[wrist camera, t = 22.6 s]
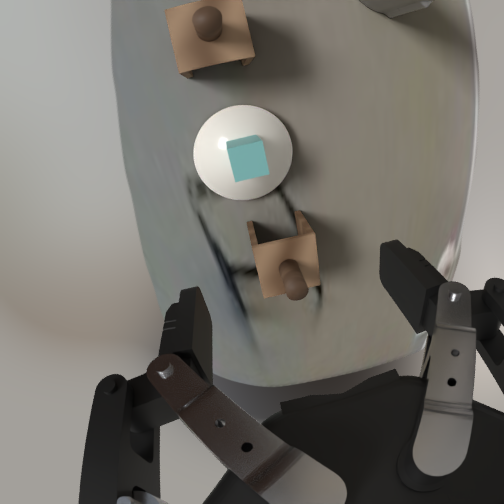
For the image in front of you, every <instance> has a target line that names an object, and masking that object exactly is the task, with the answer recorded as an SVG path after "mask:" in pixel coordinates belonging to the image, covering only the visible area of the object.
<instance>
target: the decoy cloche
mask: <svg viewBox="0 0 504 504" xmlns="http://www.w3.org/2000/svg"><path fill="white" fill-rule="evenodd" d="M295 217H296V224H297V231H298V236H293V237H289V238H284V239H280V240H276V241H271V242H267V243H263V244H258V243H257V239H256V235H255V231H254V227H253V223H252V221H250V222H247V226H248V231H249V236H250V240H251V245H252V250H253V254H254V258H255V262H256V267H257V271H258V275H259V279H260V283H261V288H262V292H263V296H264V298H268V297H272V296H276V295H280V294H285V293H286V294H287V296H288V298H289V299H291V300H301V299H303V298H304V297H305V296H306V295H307V294H308V288H309V287H313V286H317V285H320V275H319V265H318V255H317V245H316V237H315V233H314V231H313V230H312V228H311V227H310V225H309V224H308V222H307V220H306V219H305V217H304V216H303V214H302V213H301V211H300V210H299V211H295Z"/></svg>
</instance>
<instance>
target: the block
mask: <svg viewBox="0 0 504 504" xmlns="http://www.w3.org/2000/svg"><path fill="white" fill-rule="evenodd" d="M226 147H227V152H228V156H229V160H230V164H231V168H232V171H233V175H234V179H235V182H239V181H243V180H247V179H251V178H255V177H260V176H264V175H268V174H270V173H269V169H268V164H267V159H266V155H265V150H264V146H263V141H262V140H261V139H260V138H259V137H258V136H257V135H252V136H247V137H243V138H239V139H234V140H230V141H226Z"/></svg>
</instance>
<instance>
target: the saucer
mask: <svg viewBox="0 0 504 504" xmlns="http://www.w3.org/2000/svg"><path fill="white" fill-rule="evenodd" d="M252 135H257V136H258V137H259V138H260V139H261V140H262V141H263V146H264V150H265V155H266V159H267V164H268V169H269V173H270V174H268V175H264V176H260V177H255V178H251V179H247V180H243V181H239V182H235V179H234V175H233V171H232V168H231V164H230V160H229V156H228V152H227V147H226V141H230V140H234V139H239V138H243V137H247V136H252ZM292 153H293V151H292V143H291V139H290V136H289V133H288V131H287V129H286V128H285V126H284V125H283V123H282V122H281V121H280V120H279V119H278V118H277V117H276V116H274V115H273V114H272V113H270V112H268V111H267V110H264V109H262V108H259V107H256V106H250V105H237V106H231V107H228V108H225V109H223V110H220V111H219V112H217V113H215V114H214V115H213V116H211V117H210V118H209V119H208V120H207V121H206V122H205V124H204V125H203V126H202V128H201V129H200V131H199V133H198V135H197V138H196V141H195V144H194V162H195V166H196V170H197V172H198V174H199V176H200V178H201V179H202V181H203V182H204V183H205V184H206V185H207V186H208V187H209V188H210V189H211V190H212V191H214V192H215V193H217V194H219V195H221V196H223V197H226V198H229V199H234V200H250V199H255V198H259V197H261V196H264V195H266V194H267V193H269V192H271V191H272V190H274V189H275V188H276V187H277V186H278V185H279V184H280V183H281V182H282V181H283V179H284V178H285V176H286V175H287V173H288V171H289V168H290V165H291V161H292Z"/></svg>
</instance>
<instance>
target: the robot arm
mask: <svg viewBox="0 0 504 504" xmlns="http://www.w3.org/2000/svg"><path fill="white" fill-rule="evenodd" d="M360 1H361V2H362V3H363V4H364V5H365V6H367V7H368V8H370V9H372V10H374V11H376V12H380V13H383V14H386V15H387V16H388V17H389V18H393V17H397V16H400V15H403V14H406V13H410V12H413V11H417V10H420V9H424V8H427V7H428V6H429V5H430V4H431V2H432V1H433V0H360ZM379 274H380V280H381V283H382V285H383V286H384V288H385V289H386V290H387V292H388V293H389V295H390V296H391V297H392V299H393V300H394V302H395V303H396V304H397V306H398V307H399V309H400V310H401V311H402V313H403V314H404V316H405V317H406V319H407V320H408V322H409V323H410V324H411V326H412V327H413V329H414V330H415V332H416V333H417V334H418V333H421V332H423V331H427V332H428V336H427V341H426V346H425V352H424V357H423V363H422V367H421V372H420V376H419V377H416V376H399V375H398V373H397V371H396V369H393V370H390V371H388V372H385V373H382V374H379V375H376V376H374V377H371V378H368V379H367V380H365V381H363V382H362V383H360V384H359V385H357V386H355V387H353V388H352V389H350V390H348V391H346V392H344V393H341V394H329V395H310V396H306V397H302V398H298V399H293V400H289V401H285V402H280V404H281V409H282V410H281V411H279V412H277V413H275V414H274V415H272V416H270V417H269V418H268V419H266V420H265V421H263V422H262V423H261V424H260V423H259V422H258V421H256V420H255V419H254V418H253V417H251V416H250V415H249V414H247V413H246V412H245V411H244V410H243V409H242V408H240V407H239V406H238V405H237V404H236V403H234V402H233V401H232V400H231V399H230V398H228V397H227V396H226V395H225V394H224V393H223V392H222V391H220V390H219V389H218V388H217V387H216V386H214V385H213V378H212V377H213V375H212V374H213V372H212V321H211V317H210V313H209V311H208V308H207V306H206V303H205V301H204V298H203V295H202V293H201V290H200V288H199V287H198V286H197V287H193V288H188V289H183V290H181V292H180V298H179V302H178V303H174V304H172V305H171V306H170V308H169V309H168V311H167V312H166V316H165V321H164V322H165V323H164V327H163V332H162V338H161V344H160V349H159V355H158V357H156V358H155V359H154V360H152V362H150V364H149V365H148V367H147V371H146V373H145V374H143V375H141V376H138V377H135V378H133V379H131V380H128V381H127V380H126V379H125V378H124V377H123V376H122V375H119V374H112V375H109V376H107V377H105V378H104V379H102V380H101V381H100V382H99V384H98V385H97V387H96V390H95V395H94V399H93V404H92V409H91V415H90V420H89V426H88V432H87V437H86V443H85V450H84V457H83V465H82V473H81V482H80V493H79V504H168V503H167V502H165V501H163V500H161V499H160V426H161V425H164V424H166V423H169V422H172V421H174V420H177V419H180V420H181V421H182V422H183V423H184V424H185V425H186V426H187V428H188V429H189V430H190V431H191V432H192V433H193V434H194V435H195V436H196V437H197V438H198V440H199V441H200V442H201V443H202V444H203V445H204V446H205V447H206V448H207V449H208V450H209V451H210V452H211V453H212V454H213V455H214V456H215V457H216V458H217V459H218V460H219V461H220V462H221V463H222V464H223V465H224V466H225V467H226V468H227V469H228V470H227V471H226V473H225V474H224V476H223V477H222V478H221V480H220V481H219V482H218V484H217V485H216V487H215V488H214V489H213V491H212V492H211V493H210V495H209V496H208V497H207V498H206V500H205V501H204V502H203V504H504V413H503V412H501V411H498V410H496V409H494V408H491V407H489V406H486V405H484V404H482V403H479V402H477V401H474V400H473V389H474V378H475V377H474V376H475V362H476V361H475V360H476V349H477V351H478V353H479V354H480V356H481V357H482V359H483V360H484V362H485V364H486V365H487V367H488V368H489V370H490V372H491V373H492V375H493V377H494V378H495V380H496V382H497V383H498V385H499V387H500V389H501V391H502V392H503V394H504V335H503V334H502V332H501V331H500V330H499V328H500V326H501V323H502V325H503V326H504V280H503V279H500V278H491V279H489V280H487V281H486V283H485V286H484V290H474V291H469V290H468V288H467V287H466V286H465V285H463V284H461V283H458V282H453V281H450V282H448V281H447V280H446V279H445V278H444V277H443V276H442V275H441V274H440V273H439V272H438V271H437V270H436V269H435V268H434V267H433V266H432V265H431V264H430V263H429V262H428V261H427V260H425V258H424V257H423V256H422V255H421V254H420V253H419V252H417V251H415V250H413V249H411V248H406V247H405V246H404V245H403V244H402V243H401V242H400V241H399V240H393V241H389V242H385V243H382V244H381V246H380V270H379Z"/></svg>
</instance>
